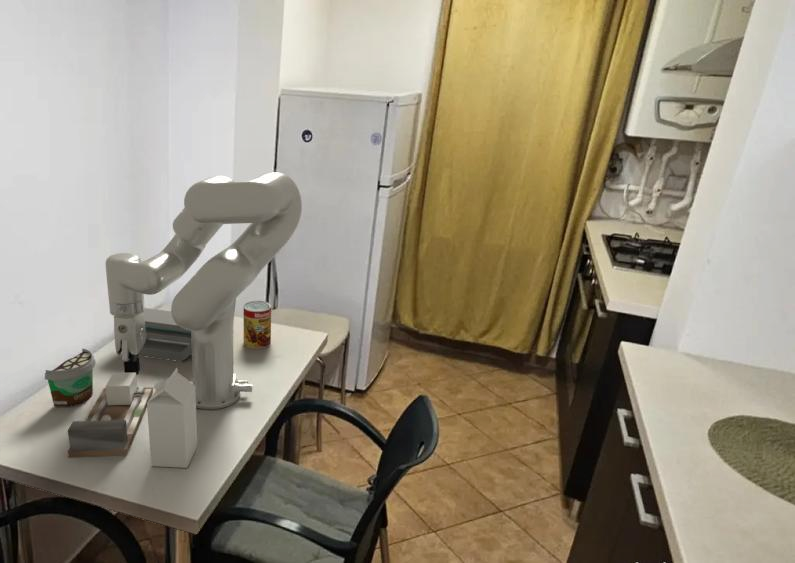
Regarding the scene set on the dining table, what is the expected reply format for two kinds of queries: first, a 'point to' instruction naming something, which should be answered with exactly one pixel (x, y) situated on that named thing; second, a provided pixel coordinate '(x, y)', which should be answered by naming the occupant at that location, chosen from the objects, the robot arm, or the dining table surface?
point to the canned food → (257, 324)
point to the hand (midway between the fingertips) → (132, 373)
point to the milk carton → (172, 422)
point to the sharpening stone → (165, 337)
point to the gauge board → (108, 427)
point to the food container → (72, 380)
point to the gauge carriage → (121, 389)
